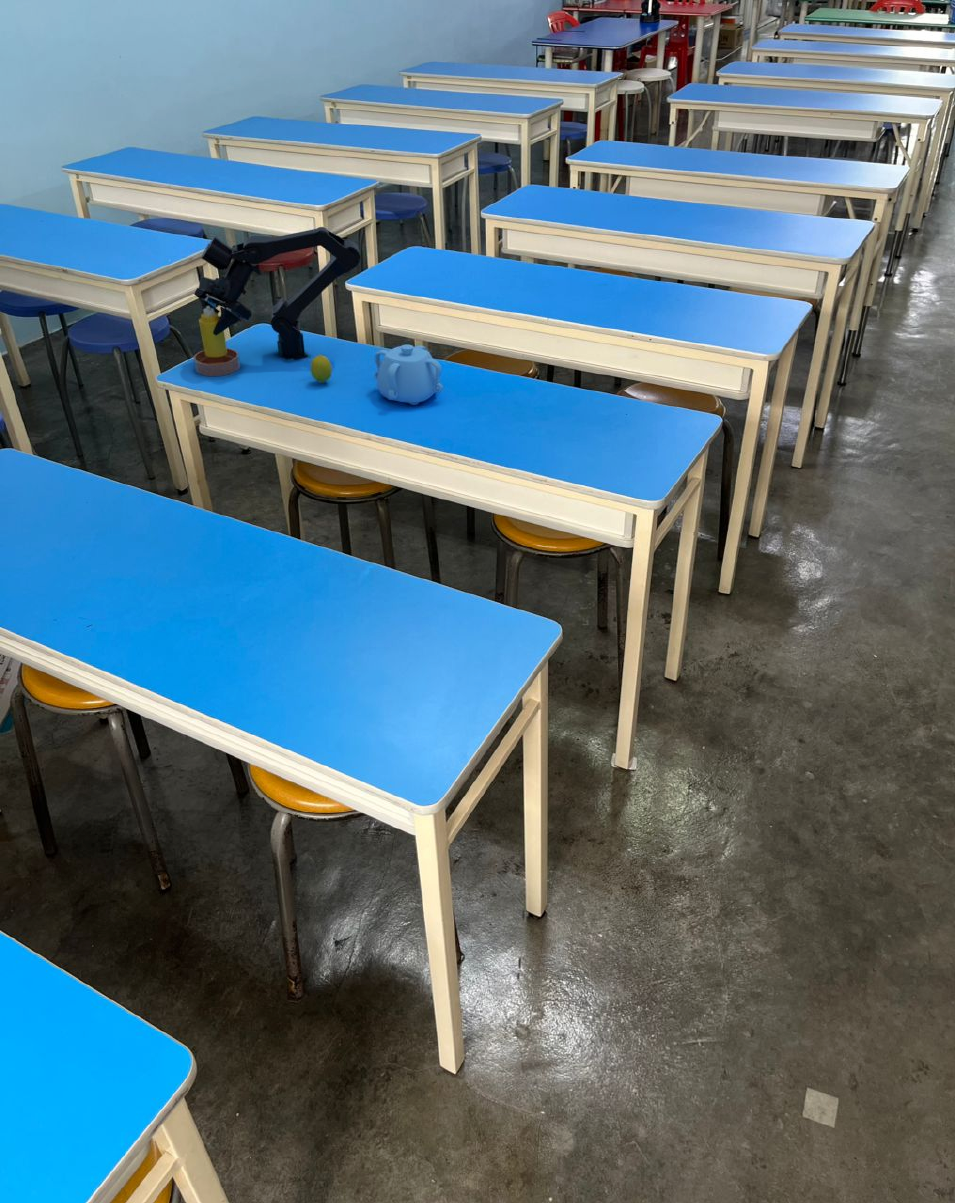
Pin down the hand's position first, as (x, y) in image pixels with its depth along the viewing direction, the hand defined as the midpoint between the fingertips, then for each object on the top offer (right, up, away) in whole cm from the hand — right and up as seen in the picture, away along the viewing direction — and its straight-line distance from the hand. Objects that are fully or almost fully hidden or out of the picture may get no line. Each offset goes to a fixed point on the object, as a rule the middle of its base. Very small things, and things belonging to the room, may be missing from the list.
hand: (207, 331), depth 253 cm
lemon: (+31, -14, +1) cm, 34 cm away
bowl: (+1, -8, +8) cm, 11 cm away
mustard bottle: (+1, -5, +5) cm, 7 cm away
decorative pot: (+55, -19, -5) cm, 58 cm away
